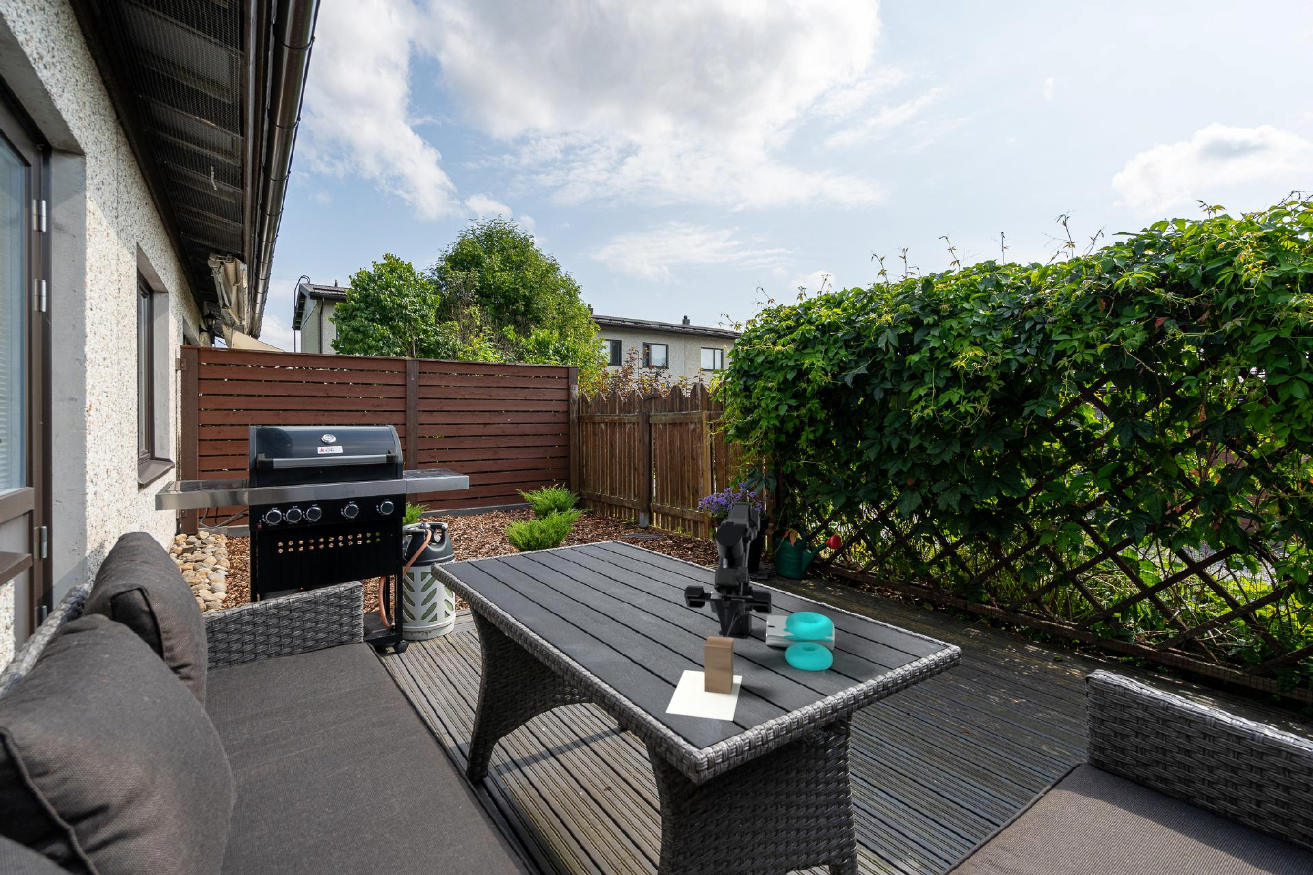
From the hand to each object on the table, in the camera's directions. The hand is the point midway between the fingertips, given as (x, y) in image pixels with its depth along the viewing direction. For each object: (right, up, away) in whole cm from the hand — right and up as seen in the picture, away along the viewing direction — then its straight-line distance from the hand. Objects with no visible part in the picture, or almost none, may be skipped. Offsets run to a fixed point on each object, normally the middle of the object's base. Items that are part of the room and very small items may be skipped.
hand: (724, 636), depth 127 cm
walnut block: (-2, -7, -9) cm, 11 cm away
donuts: (+19, -7, +3) cm, 20 cm away
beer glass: (+26, -4, +11) cm, 29 cm away
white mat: (-5, -8, -11) cm, 14 cm away
